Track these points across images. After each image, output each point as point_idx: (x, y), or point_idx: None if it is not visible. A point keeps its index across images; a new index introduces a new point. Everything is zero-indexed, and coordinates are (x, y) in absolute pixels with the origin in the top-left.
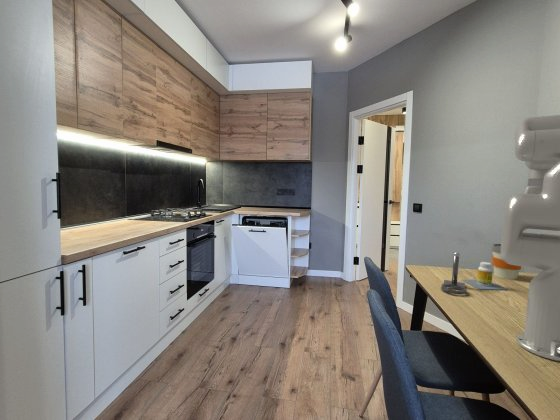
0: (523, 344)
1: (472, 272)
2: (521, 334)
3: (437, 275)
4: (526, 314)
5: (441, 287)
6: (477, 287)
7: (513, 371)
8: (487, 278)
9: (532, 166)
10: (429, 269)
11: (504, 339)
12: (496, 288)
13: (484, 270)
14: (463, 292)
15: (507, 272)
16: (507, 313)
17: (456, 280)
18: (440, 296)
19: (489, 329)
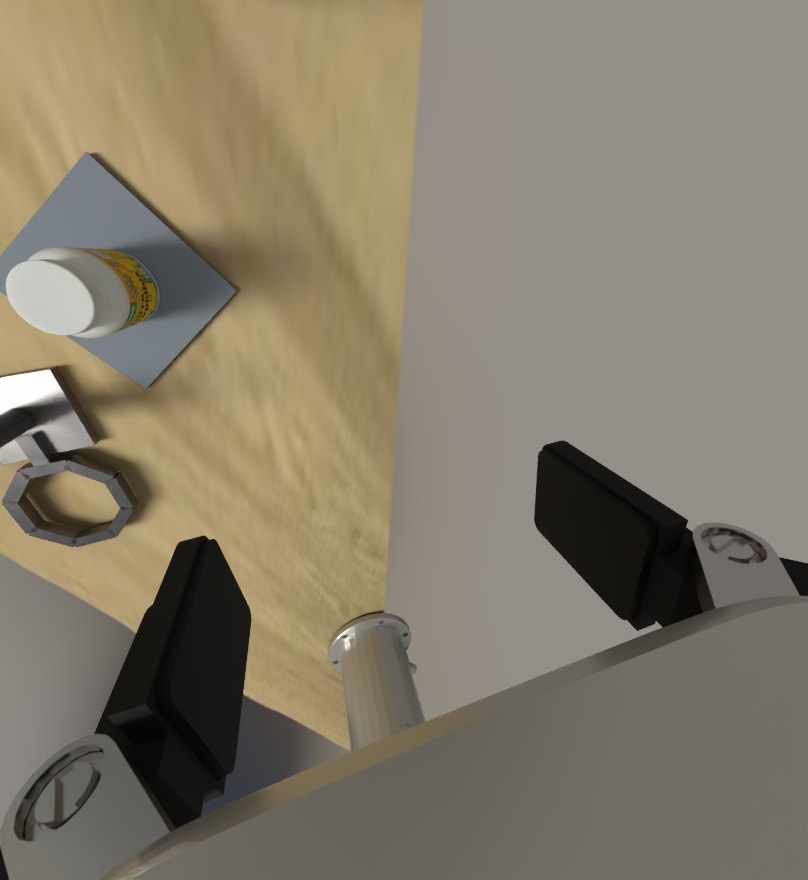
0: (340, 672)
1: None
2: (334, 646)
3: None
4: (346, 712)
5: (29, 531)
6: (125, 375)
7: (335, 720)
8: (131, 325)
9: None
10: None
11: (310, 661)
12: (195, 323)
13: (90, 337)
14: (128, 517)
15: None
16: (291, 545)
17: (20, 433)
18: (80, 572)
19: (279, 649)
